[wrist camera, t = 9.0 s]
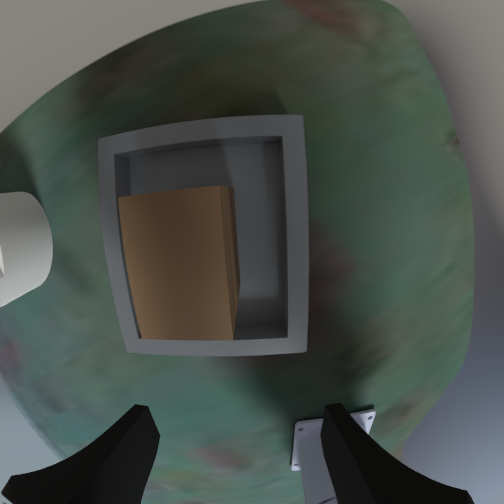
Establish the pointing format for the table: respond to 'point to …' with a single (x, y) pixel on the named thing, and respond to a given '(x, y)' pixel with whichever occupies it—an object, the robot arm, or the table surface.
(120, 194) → the tray
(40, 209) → the cylinder with rectangular tab
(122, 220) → the walnut block
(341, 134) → the table surface
